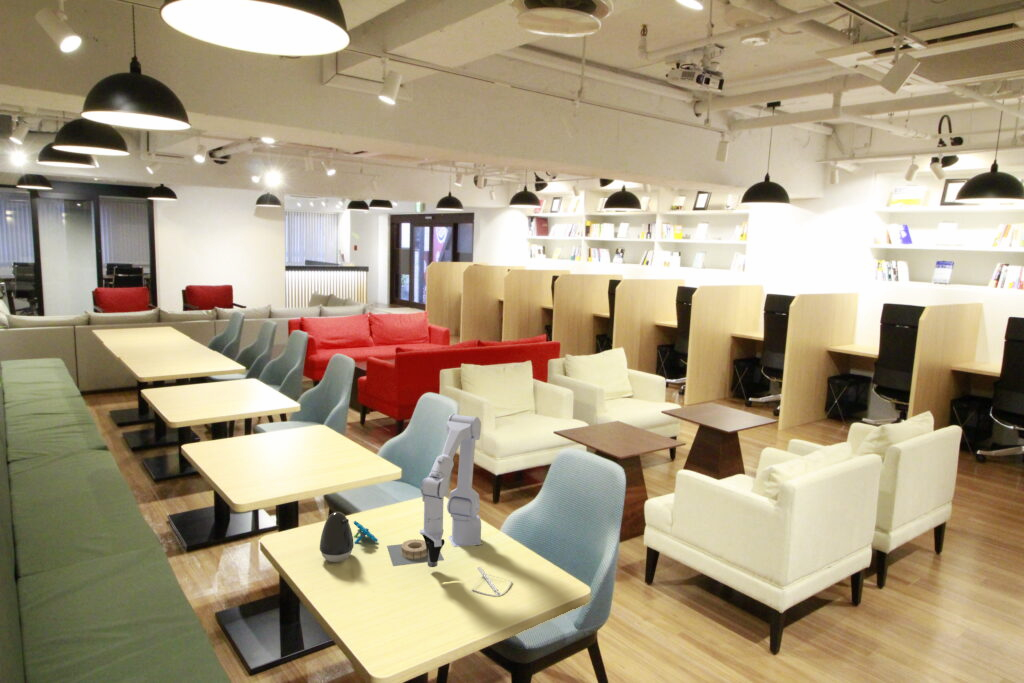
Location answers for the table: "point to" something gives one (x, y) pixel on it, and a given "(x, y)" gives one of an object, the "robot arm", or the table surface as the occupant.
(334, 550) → the pump dispenser
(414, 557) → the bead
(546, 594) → the table surface
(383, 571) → the table surface
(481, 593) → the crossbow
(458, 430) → the robot arm
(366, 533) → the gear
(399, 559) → the mat
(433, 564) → the peg
